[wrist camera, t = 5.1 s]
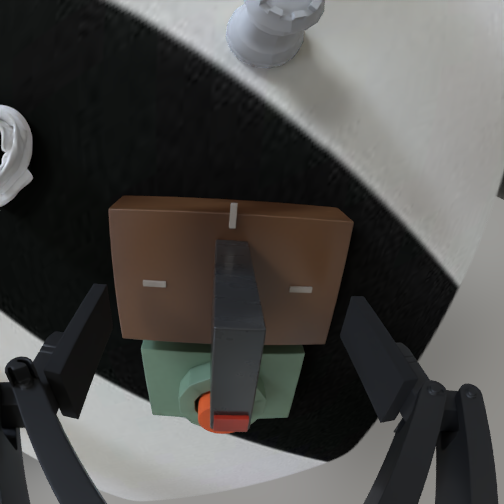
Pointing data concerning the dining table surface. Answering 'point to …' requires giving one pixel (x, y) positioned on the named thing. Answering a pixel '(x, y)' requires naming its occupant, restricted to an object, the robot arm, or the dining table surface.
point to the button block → (198, 378)
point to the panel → (202, 265)
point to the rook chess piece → (271, 29)
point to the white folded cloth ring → (14, 153)
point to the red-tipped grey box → (234, 337)
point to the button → (206, 413)
